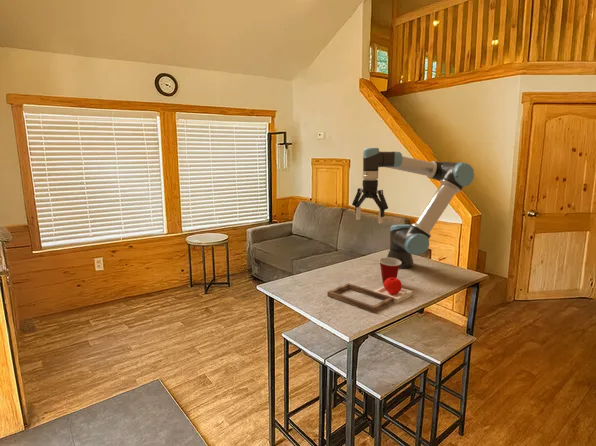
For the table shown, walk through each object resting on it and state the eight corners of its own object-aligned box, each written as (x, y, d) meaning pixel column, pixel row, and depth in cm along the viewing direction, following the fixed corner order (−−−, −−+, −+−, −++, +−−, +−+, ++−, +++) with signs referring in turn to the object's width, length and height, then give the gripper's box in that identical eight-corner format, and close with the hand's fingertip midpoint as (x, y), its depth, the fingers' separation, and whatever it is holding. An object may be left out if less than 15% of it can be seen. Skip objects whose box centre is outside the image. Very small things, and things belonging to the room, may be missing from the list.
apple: (379, 292, 170) (380, 277, 169) (390, 288, 175) (391, 273, 173) (393, 298, 164) (394, 282, 162) (405, 293, 168) (406, 278, 167)
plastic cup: (389, 289, 176) (390, 265, 174) (373, 282, 185) (374, 259, 182) (405, 284, 182) (406, 261, 179) (388, 278, 191) (389, 255, 188)
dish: (388, 288, 178) (388, 284, 177) (412, 295, 169) (412, 291, 168) (372, 295, 169) (372, 291, 169) (397, 303, 160) (397, 298, 160)
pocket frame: (348, 287, 179) (348, 283, 179) (393, 302, 162) (394, 297, 161) (327, 295, 169) (327, 291, 169) (373, 312, 152) (373, 308, 151)
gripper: (345, 178, 192) (345, 219, 196) (387, 181, 175) (386, 225, 179) (354, 177, 197) (354, 217, 201) (396, 180, 180) (394, 223, 184)
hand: (369, 221), depth 190 cm, fingers open, 13 cm apart
